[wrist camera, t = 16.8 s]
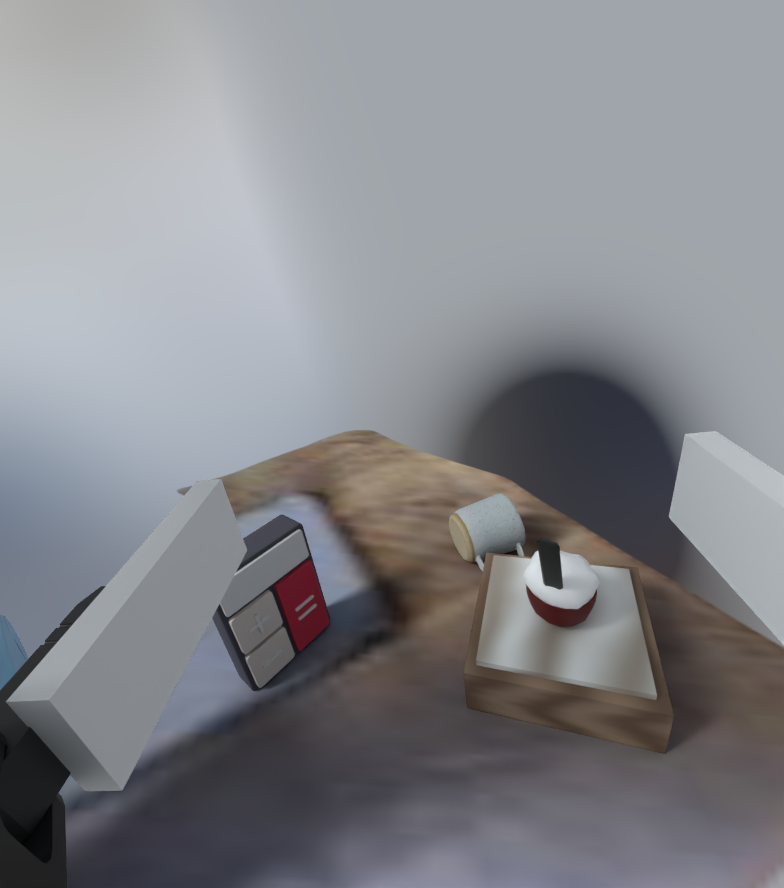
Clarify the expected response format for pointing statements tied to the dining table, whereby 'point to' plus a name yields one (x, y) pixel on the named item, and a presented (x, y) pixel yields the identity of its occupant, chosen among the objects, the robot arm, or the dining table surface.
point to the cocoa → (560, 585)
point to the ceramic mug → (487, 529)
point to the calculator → (271, 602)
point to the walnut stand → (569, 659)
